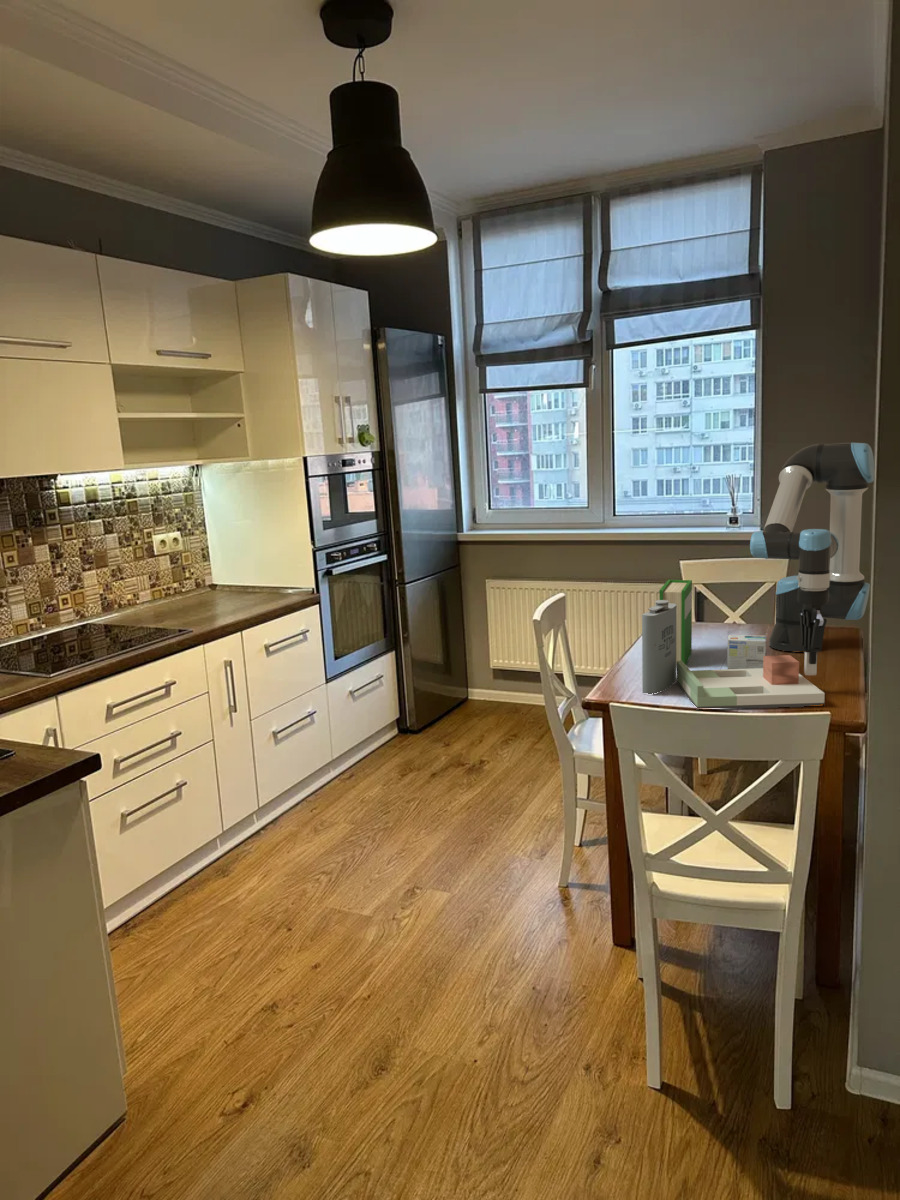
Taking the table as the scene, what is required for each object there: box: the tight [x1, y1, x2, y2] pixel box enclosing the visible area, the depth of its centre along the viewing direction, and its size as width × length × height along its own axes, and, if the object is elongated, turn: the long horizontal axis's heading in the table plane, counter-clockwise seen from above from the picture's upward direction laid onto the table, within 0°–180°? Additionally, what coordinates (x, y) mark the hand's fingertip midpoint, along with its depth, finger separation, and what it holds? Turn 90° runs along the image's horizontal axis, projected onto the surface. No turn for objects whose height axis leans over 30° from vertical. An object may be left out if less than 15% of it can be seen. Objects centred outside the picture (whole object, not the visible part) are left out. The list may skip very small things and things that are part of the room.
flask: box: [641, 599, 677, 694], centre depth 229 cm, size 17×5×25 cm, turn 143°
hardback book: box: [658, 579, 693, 666], centre depth 255 cm, size 18×7×24 cm, turn 157°
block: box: [763, 654, 800, 685], centre depth 220 cm, size 7×7×6 cm
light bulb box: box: [727, 634, 767, 669], centre depth 240 cm, size 11×7×11 cm, turn 71°
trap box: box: [676, 661, 826, 711], centre depth 221 cm, size 32×24×6 cm
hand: (810, 674), depth 220 cm, fingers closed
